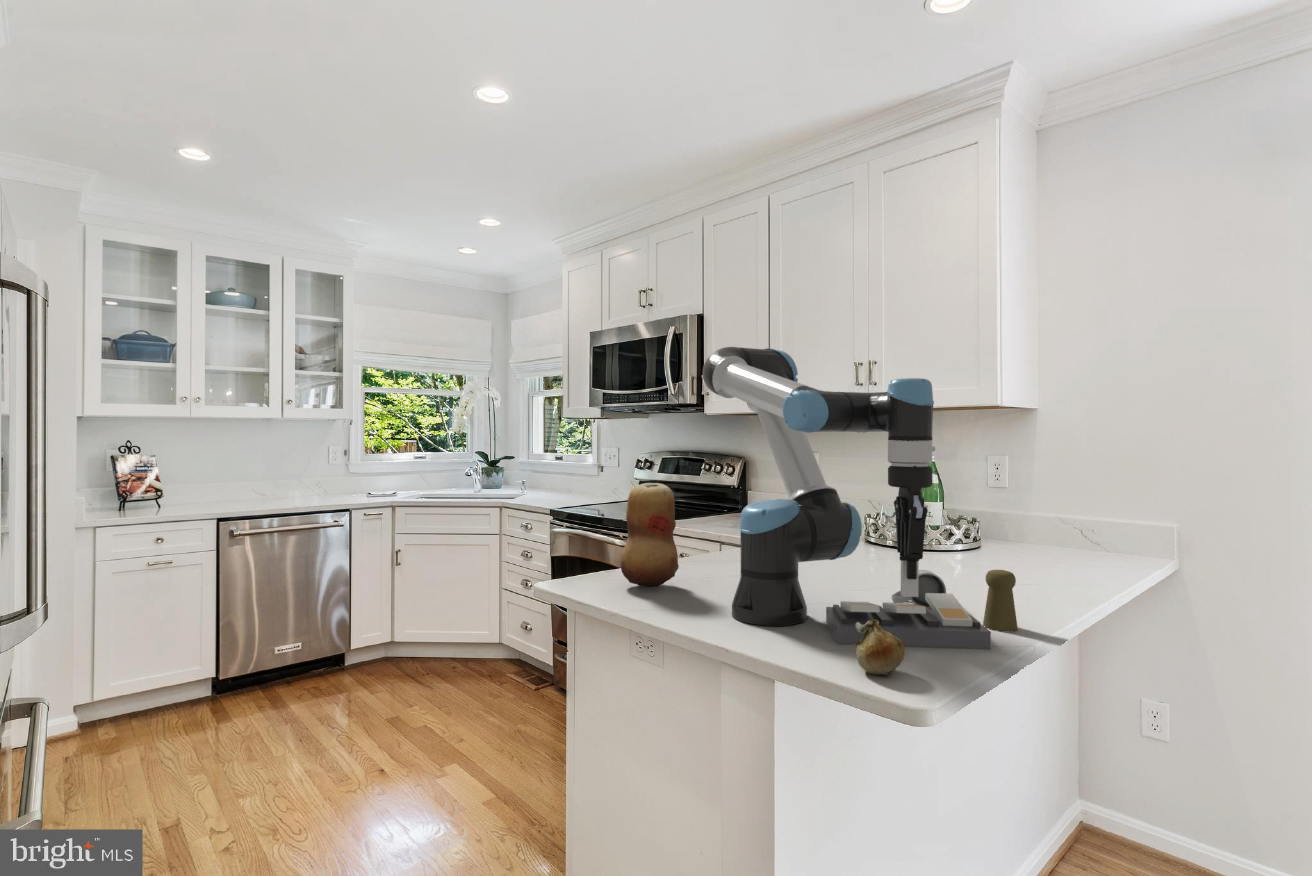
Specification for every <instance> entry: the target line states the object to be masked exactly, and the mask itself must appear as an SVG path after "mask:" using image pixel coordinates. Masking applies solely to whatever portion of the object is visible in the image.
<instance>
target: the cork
mask: <svg viewBox="0 0 1312 876" xmlns="http://www.w3.org/2000/svg"><path fill="white" fill-rule="evenodd" d="M1016 581H1017V580H1016V576H1015V574H1014V573H1013V572H1011V571H1009V570H1005V569H991V570H989V571H987V573H986V574H985V582H986V585H987V586H988V589H987V594H986V602H985V608H984V615H983V620H982V621H983V622H982V626H985V627H986V629H988V628H989V629H988V630H991V629H992V630H991V631H995V630H999V631H998V632H1002V631H1010V632H1009V633H1012V632H1011V631H1013V632H1016V631H1015V630H1017V631H1018V621H1017V614H1016V605H1015V598H1014V591H1013V588H1014V587H1015V586H1016V583H1017V582H1016Z"/></svg>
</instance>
